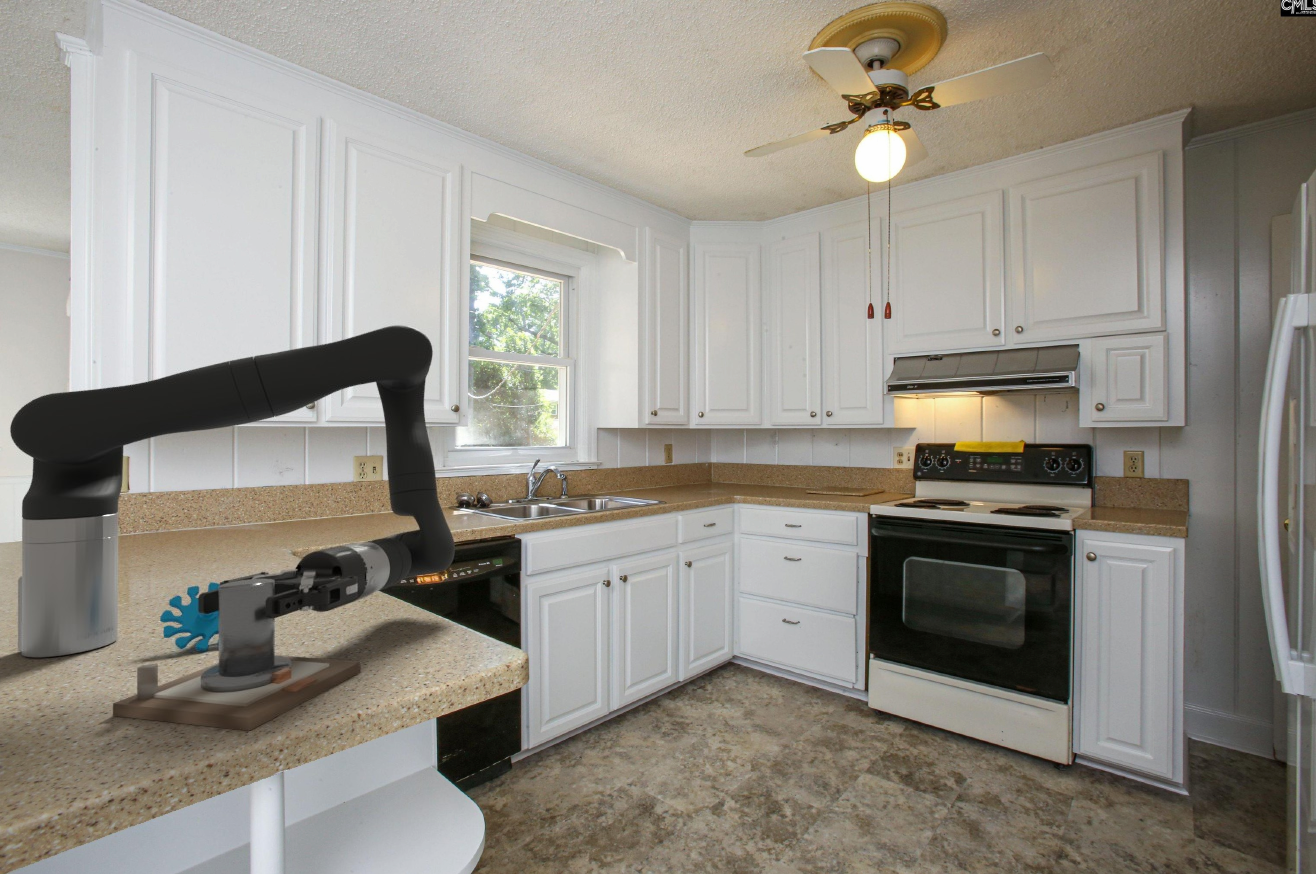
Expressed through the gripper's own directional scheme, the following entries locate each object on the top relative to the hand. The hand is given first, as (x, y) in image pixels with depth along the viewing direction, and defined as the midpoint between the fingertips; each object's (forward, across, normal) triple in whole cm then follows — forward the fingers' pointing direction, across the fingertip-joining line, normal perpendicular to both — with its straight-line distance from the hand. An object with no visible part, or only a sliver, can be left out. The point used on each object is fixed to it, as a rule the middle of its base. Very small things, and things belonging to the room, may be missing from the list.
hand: (234, 606), depth 65 cm
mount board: (-2, 0, +10) cm, 10 cm away
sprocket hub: (-2, 0, +8) cm, 8 cm away
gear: (-14, -19, +10) cm, 26 cm away
